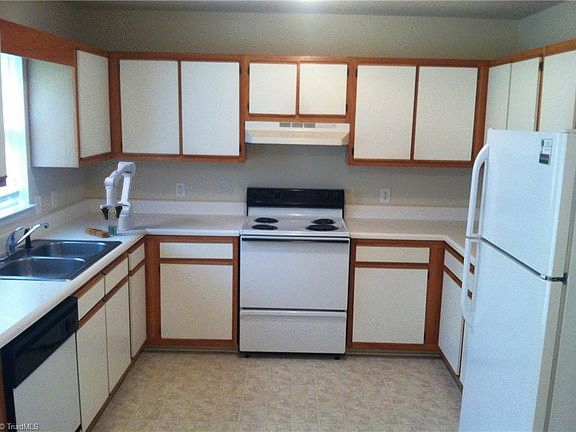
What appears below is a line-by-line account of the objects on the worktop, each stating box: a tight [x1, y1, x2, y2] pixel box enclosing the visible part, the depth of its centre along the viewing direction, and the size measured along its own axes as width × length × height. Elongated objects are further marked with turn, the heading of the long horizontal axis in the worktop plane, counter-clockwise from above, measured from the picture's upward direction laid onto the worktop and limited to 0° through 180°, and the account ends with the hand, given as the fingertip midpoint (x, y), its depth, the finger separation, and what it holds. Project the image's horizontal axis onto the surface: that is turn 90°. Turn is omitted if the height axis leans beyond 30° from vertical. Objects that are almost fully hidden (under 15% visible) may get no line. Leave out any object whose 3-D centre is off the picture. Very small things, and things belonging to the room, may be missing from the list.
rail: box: [83, 227, 111, 239], centre depth 318 cm, size 5×20×3 cm, turn 51°
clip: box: [107, 224, 118, 237], centre depth 320 cm, size 6×2×6 cm, turn 51°
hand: (112, 219), depth 318 cm, fingers open, 7 cm apart
